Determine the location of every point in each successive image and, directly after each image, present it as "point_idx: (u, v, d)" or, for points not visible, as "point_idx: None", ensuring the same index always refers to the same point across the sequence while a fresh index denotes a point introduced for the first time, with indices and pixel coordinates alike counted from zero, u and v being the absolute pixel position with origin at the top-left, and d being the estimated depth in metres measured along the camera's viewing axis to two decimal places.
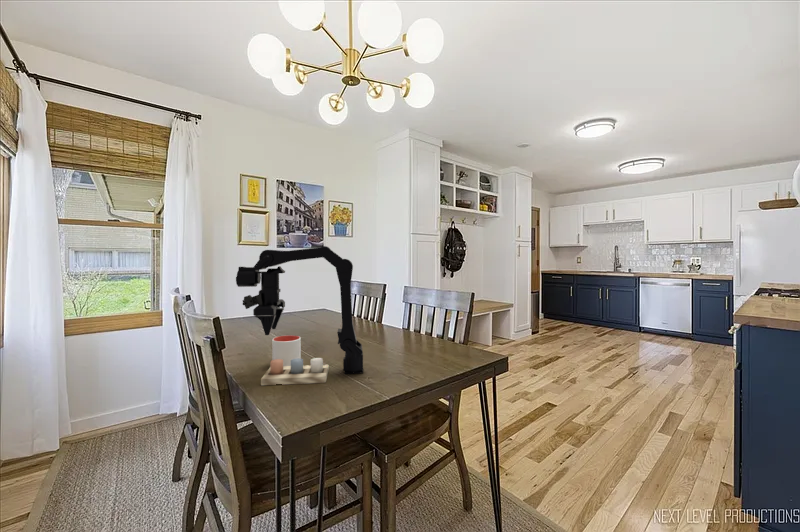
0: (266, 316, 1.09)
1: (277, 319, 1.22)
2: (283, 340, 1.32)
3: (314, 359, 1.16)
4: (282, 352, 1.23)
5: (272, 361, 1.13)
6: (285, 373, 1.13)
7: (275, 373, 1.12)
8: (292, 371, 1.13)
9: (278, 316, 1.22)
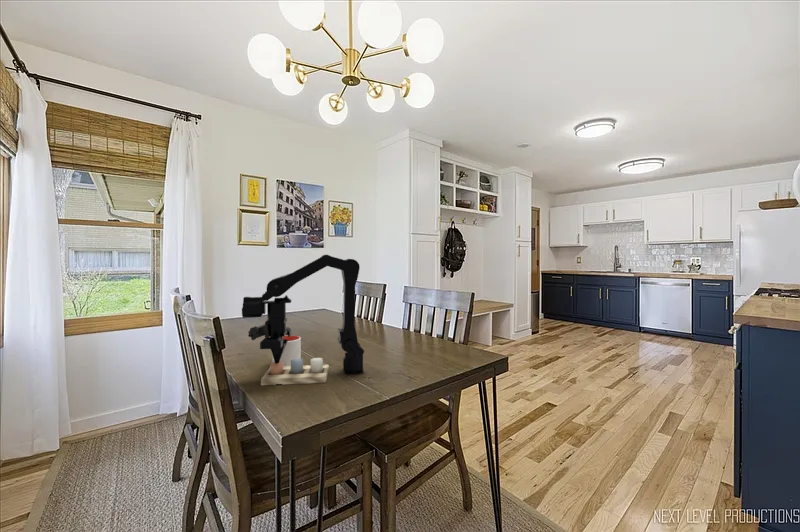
0: None
1: None
2: None
3: (314, 359, 1.16)
4: None
5: (272, 363, 1.13)
6: (285, 373, 1.13)
7: None
8: (292, 371, 1.13)
9: None
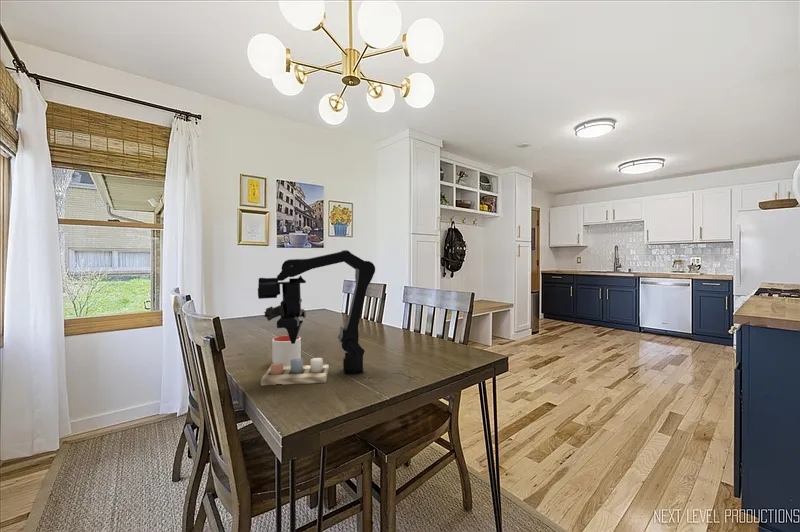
0: None
1: None
2: (283, 340, 1.32)
3: (314, 359, 1.16)
4: (282, 352, 1.23)
5: (272, 365, 1.13)
6: (285, 373, 1.13)
7: None
8: (292, 371, 1.13)
9: None
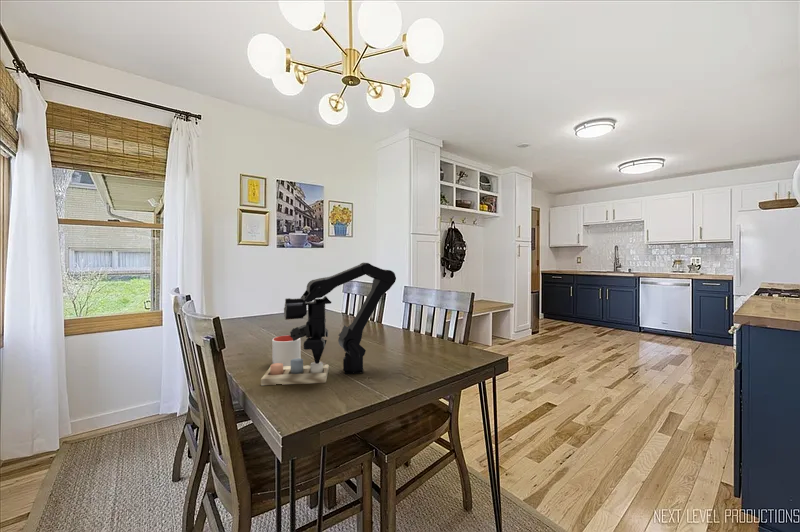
0: None
1: None
2: (283, 340, 1.32)
3: (314, 363, 1.16)
4: (282, 352, 1.23)
5: (272, 365, 1.13)
6: (285, 373, 1.13)
7: None
8: (292, 371, 1.13)
9: None
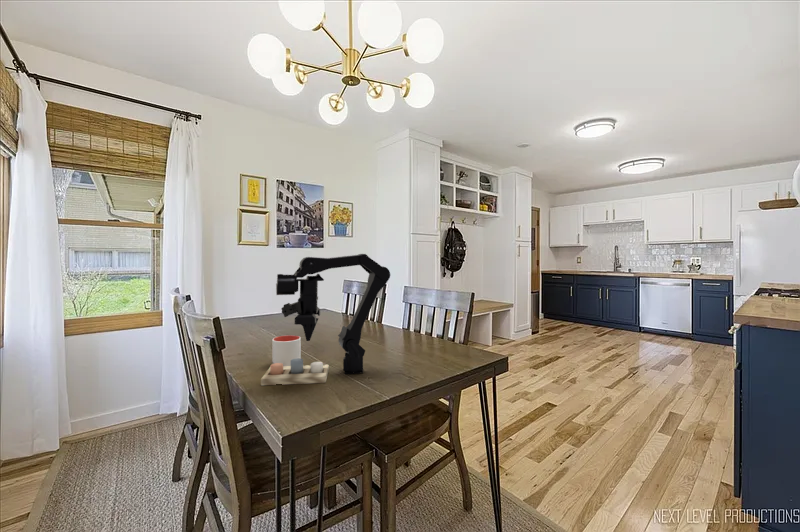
0: None
1: None
2: (283, 340, 1.32)
3: (314, 363, 1.16)
4: (282, 352, 1.23)
5: (272, 365, 1.13)
6: (285, 373, 1.13)
7: None
8: (292, 371, 1.13)
9: None
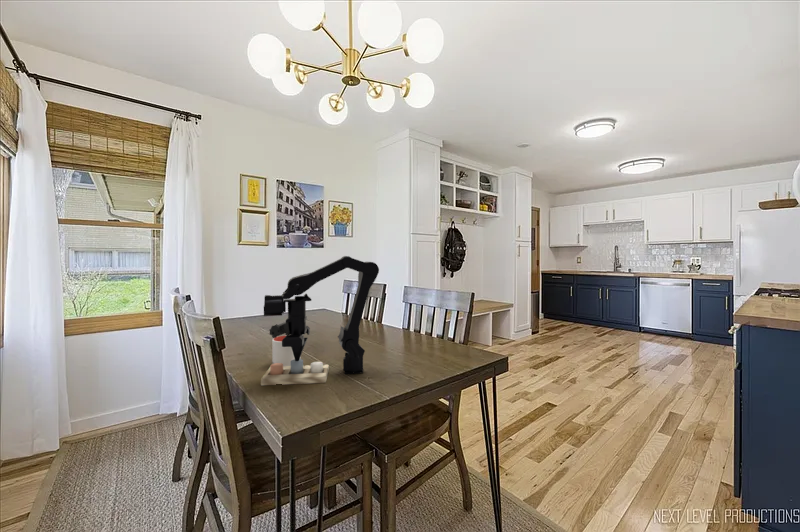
0: None
1: None
2: None
3: (314, 363, 1.16)
4: (282, 352, 1.23)
5: (272, 365, 1.13)
6: (285, 373, 1.13)
7: None
8: (292, 372, 1.13)
9: None
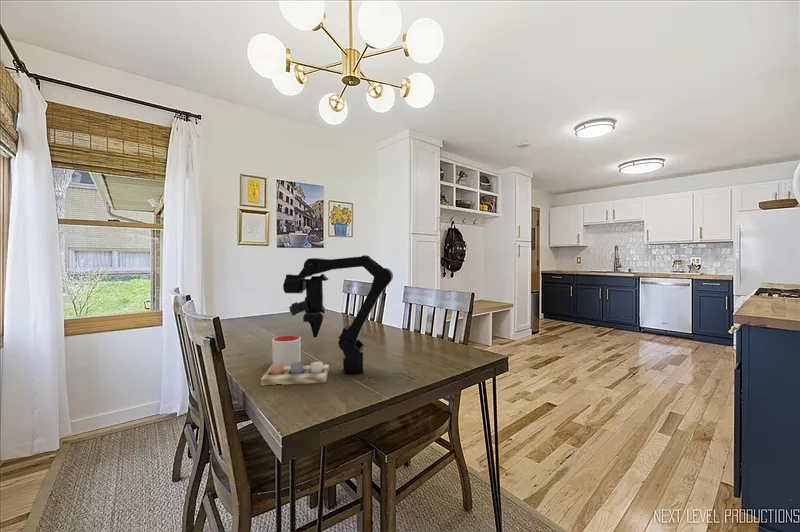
0: None
1: None
2: (283, 340, 1.32)
3: (314, 363, 1.16)
4: (282, 352, 1.23)
5: (272, 365, 1.13)
6: (285, 373, 1.13)
7: None
8: None
9: None
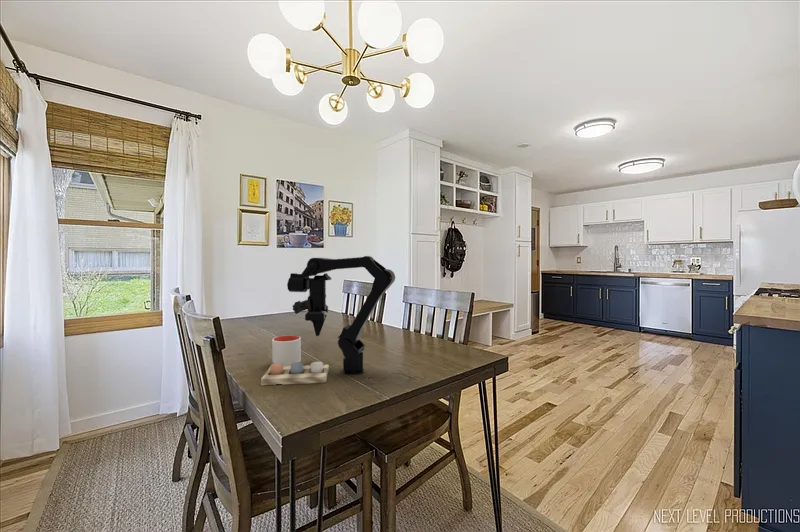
0: None
1: None
2: (283, 340, 1.32)
3: (314, 363, 1.16)
4: (282, 352, 1.23)
5: (272, 365, 1.13)
6: (285, 373, 1.13)
7: None
8: None
9: None
